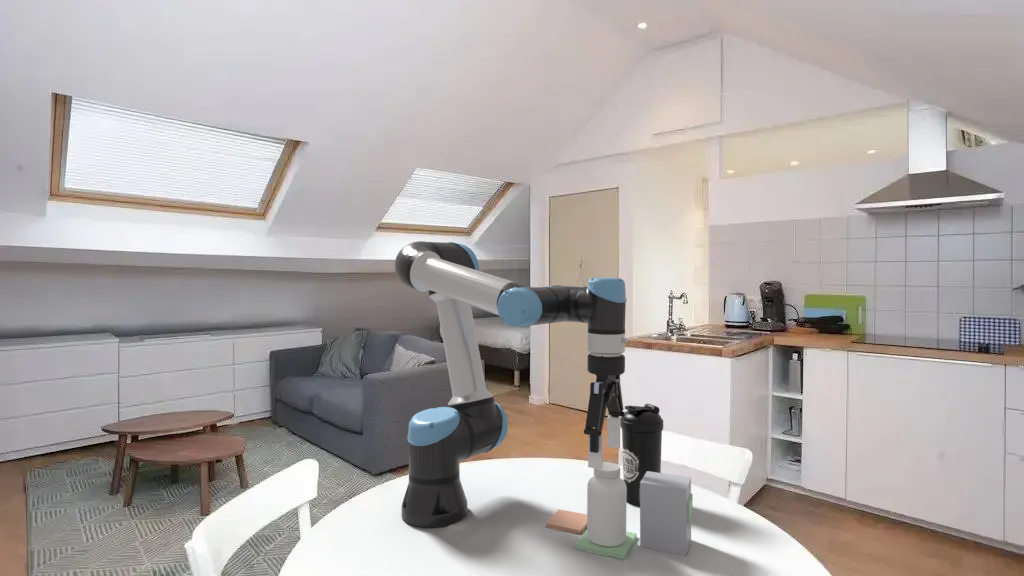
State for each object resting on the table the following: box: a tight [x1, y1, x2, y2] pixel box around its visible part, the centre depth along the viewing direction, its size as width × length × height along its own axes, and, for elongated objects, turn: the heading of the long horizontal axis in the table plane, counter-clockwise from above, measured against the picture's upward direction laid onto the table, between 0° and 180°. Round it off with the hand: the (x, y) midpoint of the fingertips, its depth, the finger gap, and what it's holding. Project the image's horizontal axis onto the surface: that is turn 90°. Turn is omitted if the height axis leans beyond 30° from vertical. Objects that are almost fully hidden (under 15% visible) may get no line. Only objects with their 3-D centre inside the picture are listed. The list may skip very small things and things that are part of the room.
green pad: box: [575, 529, 638, 560], centre depth 113 cm, size 10×10×1 cm
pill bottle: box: [586, 461, 627, 547], centre depth 113 cm, size 8×8×15 cm
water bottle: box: [620, 403, 664, 508], centre depth 134 cm, size 10×10×23 cm
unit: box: [639, 471, 694, 556], centre depth 113 cm, size 10×7×13 cm
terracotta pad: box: [545, 509, 587, 535], centre depth 122 cm, size 8×8×1 cm
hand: (604, 457), depth 113 cm, fingers open, 13 cm apart
